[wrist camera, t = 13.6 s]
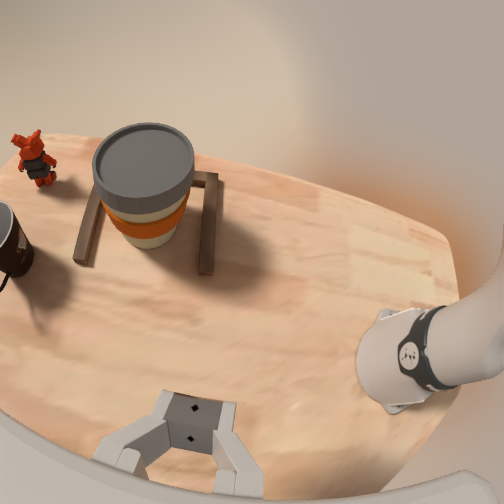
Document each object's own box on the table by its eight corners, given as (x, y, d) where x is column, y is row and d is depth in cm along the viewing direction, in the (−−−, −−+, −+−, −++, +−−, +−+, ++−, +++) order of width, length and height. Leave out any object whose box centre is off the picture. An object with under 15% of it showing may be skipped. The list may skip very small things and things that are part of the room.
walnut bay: (217, 178, 49) (218, 173, 48) (212, 275, 41) (213, 271, 40) (102, 169, 44) (101, 163, 43) (75, 262, 37) (72, 258, 35)
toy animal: (67, 163, 43) (53, 114, 33) (61, 186, 41) (42, 137, 31) (33, 167, 41) (15, 122, 30) (26, 190, 39) (3, 145, 28)
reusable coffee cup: (162, 179, 46) (163, 110, 33) (204, 233, 44) (218, 168, 31) (97, 214, 41) (76, 147, 28) (134, 275, 38) (116, 221, 25)
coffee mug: (12, 229, 35) (-13, 195, 27) (47, 242, 36) (23, 207, 28) (-14, 291, 30) (-47, 267, 21) (20, 309, 31) (-14, 287, 22)
